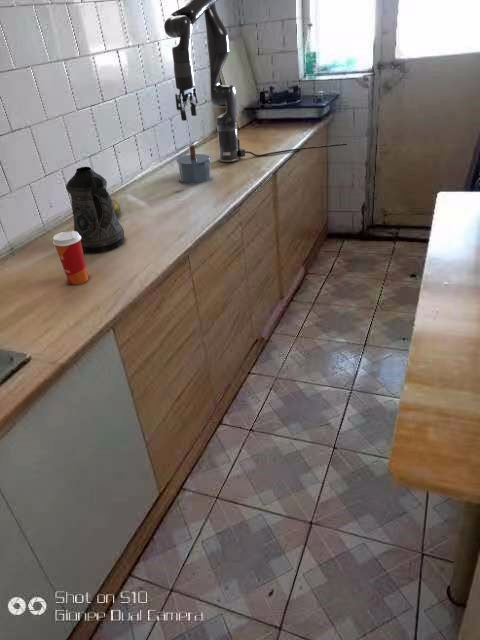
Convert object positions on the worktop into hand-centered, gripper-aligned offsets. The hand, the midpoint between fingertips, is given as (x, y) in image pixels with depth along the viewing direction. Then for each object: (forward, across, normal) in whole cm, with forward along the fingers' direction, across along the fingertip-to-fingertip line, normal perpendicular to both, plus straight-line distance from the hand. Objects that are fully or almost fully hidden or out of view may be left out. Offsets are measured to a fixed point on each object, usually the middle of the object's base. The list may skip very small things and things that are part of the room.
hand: (189, 118), depth 199 cm
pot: (+25, -3, -1) cm, 25 cm away
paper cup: (+24, -95, -11) cm, 98 cm away
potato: (+24, -50, +10) cm, 56 cm away
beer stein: (+24, -71, -3) cm, 75 cm away
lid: (+16, -3, -1) cm, 17 cm away
